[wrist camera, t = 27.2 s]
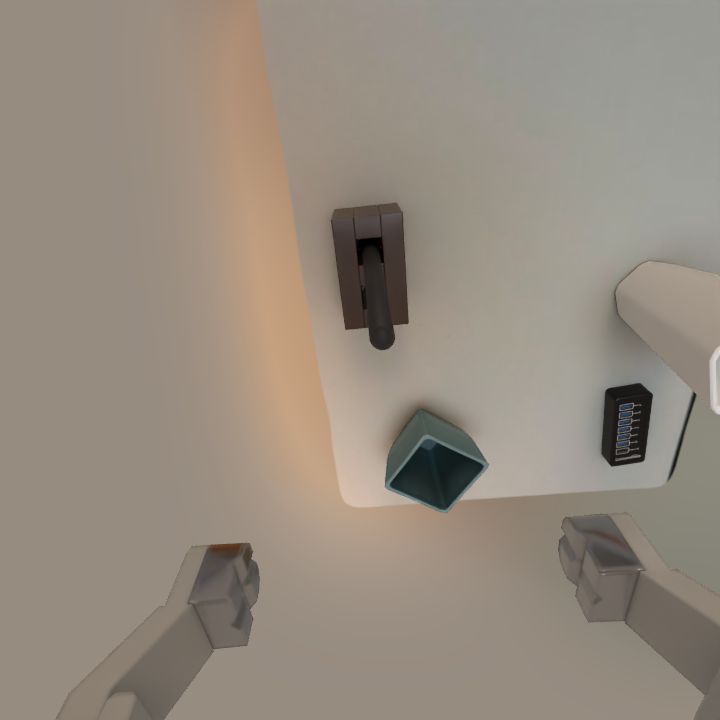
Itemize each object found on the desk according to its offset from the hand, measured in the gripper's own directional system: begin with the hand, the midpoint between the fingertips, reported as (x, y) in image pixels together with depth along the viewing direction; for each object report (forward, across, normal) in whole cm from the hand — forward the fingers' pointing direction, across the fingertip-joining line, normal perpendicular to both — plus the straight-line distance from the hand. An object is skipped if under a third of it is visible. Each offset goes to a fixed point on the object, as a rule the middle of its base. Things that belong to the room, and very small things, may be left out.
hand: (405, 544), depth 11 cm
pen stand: (+38, 0, +2) cm, 38 cm away
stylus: (+38, 0, 0) cm, 38 cm away
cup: (+38, -30, +9) cm, 50 cm away
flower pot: (+38, -5, +25) cm, 46 cm away
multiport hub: (+38, -31, +27) cm, 56 cm away
